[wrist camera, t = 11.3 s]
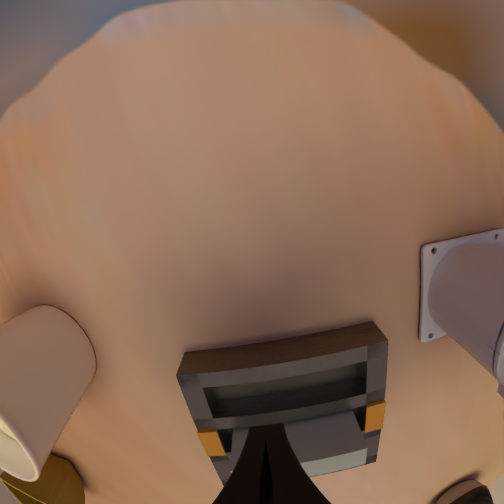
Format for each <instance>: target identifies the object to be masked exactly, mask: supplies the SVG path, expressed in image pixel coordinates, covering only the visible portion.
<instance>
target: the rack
mask: <svg viewBox="0 0 504 504" xmlns="http://www.w3.org/2000/svg"><path fill="white" fill-rule="evenodd" d="M387 357H388V339H387V338H386V337H385V336H384V334H383V333H382V332H381V330H380V329H379V328H378V327H377V325H376V324H375V323H374V322H373V321H371V322H367V323H362V324H358V325H354V326H349V327H345V328H340V329H335V330H330V331H325V332H320V333H315V334H310V335H305V336H299V337H294V338H288V339H282V340H276V341H270V342H263V343H257V344H250V345H243V346H236V347H228V348H220V349H212V350H203V351H193V352H185V353H184V356H183V358H182V361H181V364H180V366H179V369H178V371H177V374H176V377H177V379H178V382H179V385H180V387H181V390H182V393H183V395H184V398H185V400H186V403H187V405H188V408H189V410H190V413H191V415H192V418H193V420H194V423H195V425H196V427H197V430H198V431H197V434H198V436H199V438H200V440H201V443H202V445H203V447H204V449H205V451H206V454H207V456H209V457H210V459H211V461H212V463H213V465H214V467H215V469H216V471H217V473H218V475H219V477H220V479H221V481H222V483H223V485H224V486H225V484H226V483H227V481H228V479H229V477H230V475H231V472H230V463H231V450H232V437H233V428H240V427H250V426H259V425H267V424H275V423H281V422H288V421H294V420H300V419H306V418H311V417H316V416H321V415H326V414H331V413H335V412H340V411H344V410H348V409H352V410H353V413H354V415H355V418H356V420H357V423H358V425H359V428H360V430H361V433H362V436H363V438H364V441H365V443H366V446H367V455H366V463H365V464H369V463H372V462H376V458H377V452H378V446H379V439H380V432H381V428H383V421H384V413H385V404H386V402H385V400H384V398H385V387H386V374H387ZM365 464H363V465H365ZM360 466H362V465H360ZM356 467H358V466H356ZM352 468H354V467H352ZM348 469H350V468H348ZM344 470H346V469H344ZM340 471H342V470H340ZM336 472H338V471H336ZM331 473H333V472H331ZM326 474H328V473H326ZM321 475H323V474H321ZM316 476H318V475H316ZM311 477H313V476H311Z"/></svg>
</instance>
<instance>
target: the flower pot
mask: <svg viewBox="0 0 504 504" xmlns="http://www.w3.org/2000/svg"><path fill="white" fill-rule="evenodd" d="M0 481H1V482H2V483H3V484H4V485H5V487H6V488H7V489H8V490H9V491H10V492H11V493H12V495H13V496H14V497H15V498H16V499H17V500H18V501H19V502H20V503H21V504H85V494H84V488H83V483H82V480H81V479H80V477H79V476H78V474H77V472H76V471H75V469H74V468H73V466H72V464H71V463H70V462H69V461H67V460H64V459H62V458H59V457H57V456H54V455H52V454H50V455H49V457H48V459H47V461H46V462H45V464H44V466H43V468H42V471H41V474H40V477H39V478H38V479H37V480H36V481H33V482H29V481H24V480H21V479H19V478H16V477H14V476H12V475H11V474H9V473H7V472H6V471H4V472H3V473H2V474H1V475H0Z"/></svg>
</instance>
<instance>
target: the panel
mask: <svg viewBox="0 0 504 504" xmlns="http://www.w3.org/2000/svg"><path fill="white" fill-rule="evenodd" d="M281 423H282V424H284V426H285V431H286V435H287V438H288V440H289V443H290V445H291V447H292V449H293V451H294V453H295V455H296V457H297V459H298V461H299V462H300V464H301V466H302V467H303V469H304V470H305V472H306V473H307V475H308V476H309V477H311V476H316V475H321V474H326V473H331V472H336V471H340V470H344V469H348V468H352V467H356V466H360V465H363V464H365V463H366V455H367V446H366V443H365V441H364V438H363V436H362V433H361V430H360V428H359V425H358V423H357V420H356V418H355V415H354V413H353V410H352V409H348V410H344V411H340V412H335V413H331V414H326V415H321V416H316V417H311V418H306V419H300V420H294V421H288V422H281ZM275 424H279V423H275ZM267 425H271V424H267ZM259 426H264V425H259ZM250 427H255V426H250ZM250 427H240V428H233V437H232V450H231V463H230V472H231V473H232V472H233V470H234V468H235V466H236V463H237V461H238V459H239V457H240V454H241V452H242V449H243V447H244V444H245V441H246V438H247V434H248V430H249V428H250Z"/></svg>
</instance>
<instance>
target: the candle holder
mask: <svg viewBox="0 0 504 504" xmlns="http://www.w3.org/2000/svg"><path fill="white" fill-rule="evenodd" d="M95 371H96V359H95V354H94V351H93V348H92V345H91V343H90V341H89V339H88V337H87V336H86V334H85V333H84V331H83V330H82V329H81V327H80V326H79V325H78V324H77V323H76V322H75V321H74V320H73V319H72V318H71V317H70V316H69V315H67V314H66V313H65V312H63V311H61V310H60V309H58V308H55V307H52V306H48V305H39V306H35V307H33V308H30V309H28V310H26V311H25V312H23V313H21V314H19V315H17V316H15V317H13V318H12V319H10V320H8V321H6V322H4V323H3V324H1V325H0V468H1V469H3V470H4V471H6V472H7V473H9V474H11V475H12V476H14V477H16V478H19V479H21V480H24V481H29V482H33V481H36V480H37V479H38V478H39V477H40V474H41V471H42V468H43V466H44V464H45V462H46V461H47V459H48V457H49V455H50V453H51V451H52V449H53V447H54V446H55V444H56V442H57V440H58V438H59V437H60V435H61V433H62V431H63V429H64V428H65V426H66V424H67V422H68V421H69V419H70V417H71V415H72V414H73V412H74V410H75V409H76V407H77V405H78V403H79V402H80V400H81V398H82V397H83V395H84V393H85V392H86V390H87V388H88V387H89V385H90V383H91V381H92V379H93V377H94V375H95Z"/></svg>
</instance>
